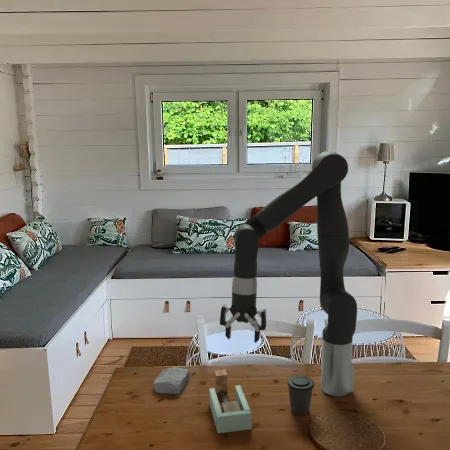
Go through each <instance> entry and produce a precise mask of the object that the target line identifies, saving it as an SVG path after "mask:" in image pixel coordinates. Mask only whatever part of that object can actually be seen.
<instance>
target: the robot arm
mask: <svg viewBox="0 0 450 450" xmlns="http://www.w3.org/2000/svg"><path fill="white" fill-rule="evenodd" d="M311 168H312V169H311V171H310V172H308V174H307V175H306V176H304V178H302V180H301V181H299V182H298V183H297V184H295V185H294V186H292V187H291V188H289V189H287V190H286V191H284V192H283V193H281V194H280V195H278V196H276V197H275V198H274V199H272V200H271V201H270V202H269V203H267V204H266V205H265V206H264V207H263V208H261V209H260V210H259V211H258V212H257V214H255V215H253V216H252V217H250V218H249V219H246V221H244V222H243V223H242V224H241V225H239V226H238V227H237V228H236V230H235V234H234V262H233V277H232V282H231V283H232V285H231V306H228V305H227V304H222V306H221V308H220V315H219V317H220V318H219V325H220V326H224V327H225V337H226V339H227V340H230V339H231V338H232V337H231V336H232V324H233V323H234V322H235V321H236V322H237V323H245V324H248V323H249V324H250V326H251V327H253V328H254V335H253V336H254V337H253V338H254V339H253V340H254V341H253V342H254V343H256V344H257V342H259V341H260V339H261V331H265V330H266V328H267V310H266V309H265V308H263V309H258V308H257V297H258V295H257V293H258V280H257V279H258V277H257V275H258V274H257V273H258V252H259V244H260V243H259V242H260V239H261V238H262V237H264V236H265V235H267V233H269V232H273V231H274V230H276V229H277V228H278V227H279V226H280V225H282V224H283V223H284V222H286V221H287V220H288V219H289V218H290V217H291V216H293V215H294V214H295V213H296V212H297V211H299V210H300V209H301V208H303V207H304V206H305V205H306V204H307V203H309V202H310V201H312V200H313V199H314V198H316V231H317V232H316V233H317V235H316V236H317V247H318V260H319V269H320V285H319V287H320V288H319V304H320V306H321V309H322V310H323V312H324V313H326V315H327V326H325V327H323V329H322V333H321V334H322V335H321V337H322V338H321V339H322V340H321V373H320V375H321V376H320V390H321V391H322V392H323V393H324V394H327V395H329V396H333V397H345V396H348V395H349V394H351V393H353V392H354V376H355V375H354V374H355V373H354V371H355V364H354V363H353V362H352V361H353V360H352V359H353V337H354V335H355V332H356V330H357V329H356V327H357V318H358V317H357V316H358V303H357V300H356V299H355V297H354V296H353V295H352V294H351V293H349V292H348V291H347V290H346V286H345V281H344V280H345V279H344V267H345V263H346V261H347V257H348V254H349V251H350V235H349V234H350V233H349V223H348V219H347V216H346V215H347V214H346V211H345V208H344V203H343V199H342V182H343V181H344V179H345V178H346V177H347V175H348V172H349V165H348V161H347V159H346V158H345V157H344V156H342V155H341V154H339V153H336V152H334V151H323V152H320V153H319V154H318V155H317V156H316V157H315V158H314V159H313V162H312V167H311ZM228 312H230V313H231V315H232V316H231V317H230V318H229V320H226V317H227V314H228ZM256 315H258V317H259V318H260V320H261V321H260V323H259V322H258V319H257V318H256Z"/></svg>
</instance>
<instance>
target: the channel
mask: <svg viewBox="0 0 450 450" xmlns="http://www.w3.org/2000/svg"><path fill="white" fill-rule="evenodd" d="M208 393H209V394H208V395H209V396H208V399H209V407H210V411H211V414H212V418H213V421H214V425H215V430H216V432H217V434H224V433H230V432H232V433H233V432H239V431H240V432H241V431H247V430H252V411H251V409H250V406H249V403H248V401H247V399H246V396H245V394H244V391H243V390H242V385H240V384H239V385H235V386H234V401H237V403H238V405H239V408H240V411H235V412H226V413H222V407H221V406H220V402H219V399H218V395H217V393H216V390H215V387H212V388H208Z"/></svg>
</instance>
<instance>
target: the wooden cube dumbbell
mask: <svg viewBox="0 0 450 450" xmlns="http://www.w3.org/2000/svg"><path fill="white" fill-rule="evenodd" d="M214 388H215V392H216V394H220V397H221V400H222V402H221V412H222V413H226V412H235V411H240V408H239V405H238V403H237V401H235V400H234V401H228V399H227V396H226V393H228V374H227V371H226V369H216V370H215V369H214Z"/></svg>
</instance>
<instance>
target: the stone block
mask: <svg viewBox="0 0 450 450" xmlns="http://www.w3.org/2000/svg"><path fill="white" fill-rule="evenodd" d="M189 378H190V370H189V369H187V368H181V367H175V366H173V367H169V368H168V367H167V368H165V369H163V370H161V372H160V373H159V374H158V375H157V377H156V379H155V380H154V381H153V389H154V391H155V393H158V394H164V393H165V394H166V393H167V394H169V393H170V394H169V395H180V394H181V392H182V390H183V389H184V387H185V386H186V383H187V382H188V380H189Z"/></svg>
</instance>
